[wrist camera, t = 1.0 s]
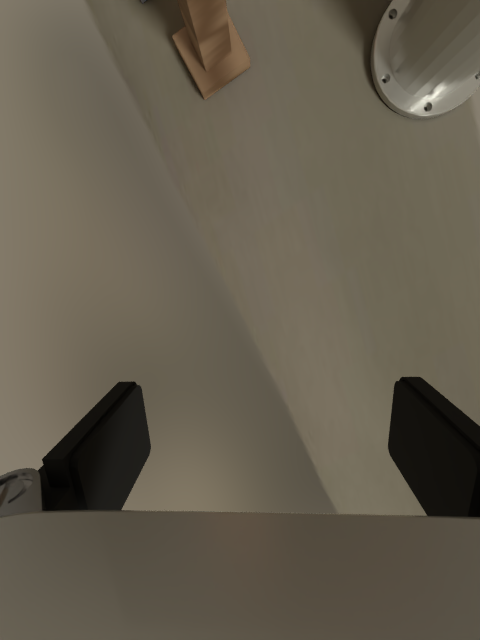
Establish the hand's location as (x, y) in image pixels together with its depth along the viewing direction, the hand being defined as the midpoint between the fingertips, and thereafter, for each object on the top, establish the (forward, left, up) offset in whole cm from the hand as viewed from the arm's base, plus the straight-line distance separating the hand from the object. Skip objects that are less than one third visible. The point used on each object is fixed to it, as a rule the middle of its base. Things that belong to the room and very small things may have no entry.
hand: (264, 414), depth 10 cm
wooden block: (-9, -25, -28) cm, 39 cm away
